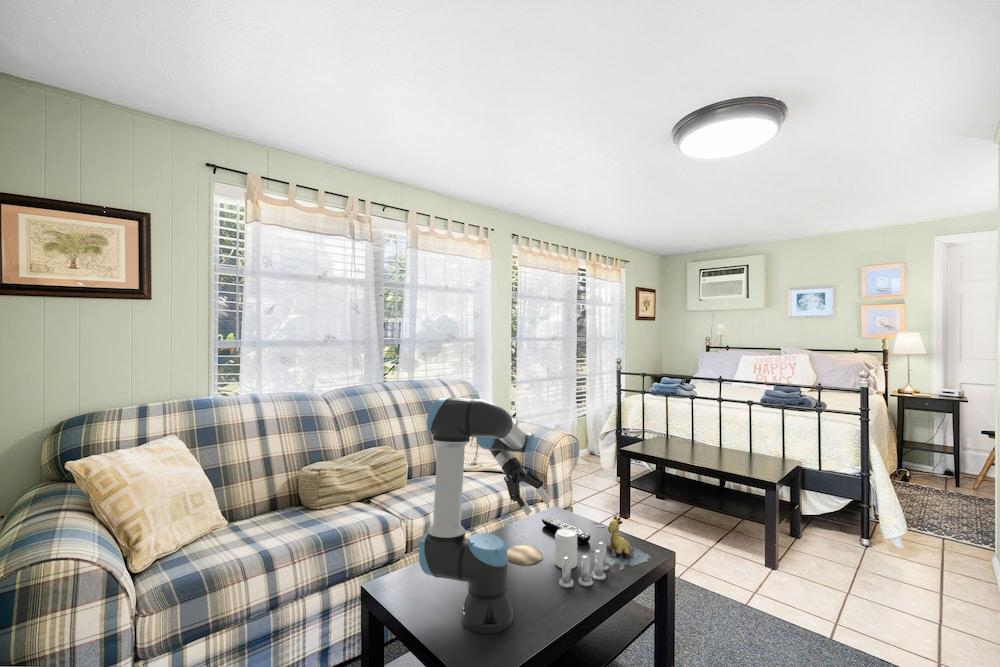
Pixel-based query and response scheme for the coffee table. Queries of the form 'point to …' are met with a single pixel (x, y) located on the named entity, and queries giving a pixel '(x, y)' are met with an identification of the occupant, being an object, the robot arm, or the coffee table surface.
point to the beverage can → (565, 546)
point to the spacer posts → (586, 568)
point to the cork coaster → (524, 555)
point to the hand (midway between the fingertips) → (539, 507)
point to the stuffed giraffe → (621, 548)
